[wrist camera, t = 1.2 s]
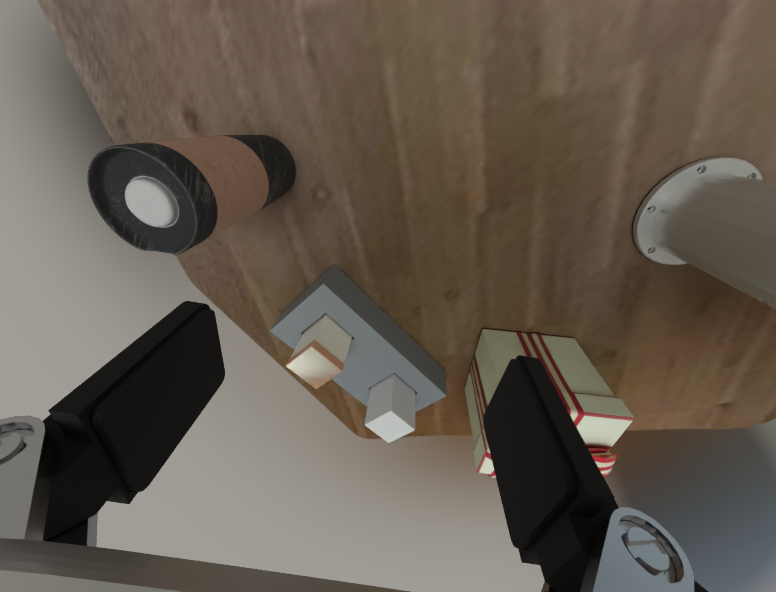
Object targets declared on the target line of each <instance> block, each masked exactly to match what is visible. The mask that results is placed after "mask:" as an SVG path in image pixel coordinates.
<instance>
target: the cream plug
mask: <svg viewBox="0 0 776 592" xmlns="http://www.w3.org/2000/svg"><path fill="white" fill-rule="evenodd" d="M351 339H352V335H351V334H349V333H348V332H347V331H346V330H345V329H344V328H343V327H341V326H340V325H339V324H338V323H337V322H336V321H335V320H333V319H332V318H331V317H330V316H329V315H328V314H326V313H325V314H324V315H322V316H321V317H320V318H319V319H318V320H316V321H315V322H314V323H313V324H311V325H310V326H309V327H308V328H307V329H306V330H305V332H304V333H303V335H302V337H301V339H300V341H299V343H298V345H297V347H296V348H295V350H294V352H293V354H292V356H291V358H290V359H289V360H288V362H287V364H286V367H287V368H289V369H290V370H291V371H293V372H294V373H295V374H297V375H298V376H299V377H301V378H302V379H303V380H305V381H306V382H307V383H309V384H310V385H311V386H313V387H314V388H315V389H317V388H318V387H320V386H321V385H323V384H324V383H326V382H327V381H329V380H330V379H332V378H333V377H335V376H336V375H338V374H339V373H341V372H342V371H343V368H344V365H345V364H344V363H345V359H346V356H347V353H348V349H349V346H350V343H351Z"/></svg>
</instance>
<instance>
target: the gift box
mask: <svg viewBox="0 0 776 592" xmlns="http://www.w3.org/2000/svg"><path fill="white" fill-rule="evenodd" d="M518 355H522V356H528V357H534V358H538V359H540V361H541V362H542V364H543V366H544V368H545V370H546V372H547V373H548V375H549V377H550V379H551V381H552V383H553V385H554V386H555V388H556V390H557V392H558V394H559V396H560V398H561V399H562V401H563V403H564V405H565V407H566V409H567V411H568V412H569V414H570V416H571V418H572V420H573V422H574V423H575V425H576V427H577V429H578V431H579V433H580V435H581V436H582V438H583V440H584V442H585V444H586V446H587V448H588V449H589V451H590V453H591V455H592V457H593V459H594V461H595V462H596V464H597V466H598V468H599V470H600V472H601V474H602V475H603V477H604V476H607V475H609V473H610V471H611V469H612V466H613V464H614V462H615V460H616V458H617V454H615V453H608V451H609V450H610V449H611V448H612V446H613V445H614V443H615V442H616V441H617V440H618V438H619V437H620V436H621V435H622V433H623V432H624V431H625V429H626V428H627V427H628V426H629V425H630V424H631V422H632V421H633V420H634V417H633V415H632V414H631V412H630V411H629V410H628V408H627V407H626V405H625V404H624V403H623V401H622V400H621V398H619V397H615V396H614V395H613V393H612V392H611V390H610V389H609V387H608V386H607V385H606V383H605V382H604V380H603V379H602V378H601V376H600V375H599V373H598V372H597V370H596V369H595V368H594V366H593V365H592V363H591V362H590V360H589V359H588V357H587V356H586V355H585V353H584V352H583V350H582V349H581V347H580V346H579V345H578V343H577V341H576V340H575V339H574V338H568V337H558V336H548V335H541V334H540V333H533V334H529V333H521V332H510V331H501V330H491V329H483V330H482V333H481V336H480V339H479V342H478V346H477V349H476V352H475V355H474V358H473V361H472V364H471V368H470V372H469V376H468V379H467V382H466V386H465V395H466V401H467V406H468V412H469V418H470V423H471V429H472V435H473V441H474V446H475V448H474V451H473V455H474V460H475V466H476V470H477V472H478V473H483V474H489V475H488V476H490V477H492V478H496V475H495V471H494V467H493V462H492V458H491V454H490V450H489V446H488V441H487V437H486V433H485V429H484V424H483V417H484V413H485V411H486V409H487V407H488V405H489V403H490V400H491V398H492V396H493V394H494V392H495V390H496V388H497V386H498V384H499V382H500V380H501V378H502V376H503V374H504V372H505V370H506V368H507V366H508V363H509V362H510V360H511V359H515V358H516V357H517V356H518Z"/></svg>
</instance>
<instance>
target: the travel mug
mask: <svg viewBox="0 0 776 592" xmlns="http://www.w3.org/2000/svg"><path fill="white" fill-rule="evenodd" d="M295 172H296V171H295V164H294V161H293V158H292V156H291V154H290V152H289V151H288V150H287V148H286V147H285V146H284V145H283V144H282V143H281V142H279V141H278V140H276V139H274V138H272V137H269V136H265V135H222V136H209V137H199V138H188V139H178V140H167V141H157V142H146V143H136V144H125V145H116V146H112V147H108V148H106V149H104V150H102V151H100V152H99V153H98V154H97V155H96V156H95V157H94V158H93V160H92V161H91V163H90V166H89V169H88V188H89V192H90V195H91V198H92V201H93V203H94V205H95V207H96V209H97V210H98V212H99V214H100V215H101V217H102V218H103V220H104V221H105V222H106V223H107V225H108V226H109V227H110V228H111V229H112V230H113V231H114V232H115V233H116V234H117V235H119V236H120V237H121V238H122V239H124V240H125V241H126V242H128V243H129V244H131V245H132V246H134V247H136V248H138V249H140V250H144V251H159V252H165V253H171V254H173V255H178V254H180V253H183V252H185V251H186V250H188V249H190V248H192V247H193V246H195V245H197V244H199V243H201V242H203V241H204V240H206V239H208V238H210V237H212V236H214V235H215V234H217V233H219V232H221V231H223V230H225V229H227V228H228V227H230V226H232V225H234V224H236V223H238V222H239V221H241V220H243V219H245V218H247V217H249V216H250V215H252V214H254V213H256V212H257V211H259V210H261V209H262V208H264V207H265V206H267V205H268V204H270V203H271V202H273V201H274V200H276V199H277V198H279V197H280V196H282V195H283V194H285V193H286V192H287V191H288V190H289V189H290V188H291V187H292V185H293V183H294V180H295Z"/></svg>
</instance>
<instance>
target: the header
mask: <svg viewBox="0 0 776 592" xmlns="http://www.w3.org/2000/svg"><path fill="white" fill-rule="evenodd" d="M325 313H326V314H328V315H329V316H330V317H331V318H332V319H333V320H335V321H336V322H337V323H338V324H339V325H340V326H341V327H343V328H344V329H345V330H346V331H347V332H348V333H349V334H351V335H352V339H351V343H350V346H349V349H348V353H347V356H346V359H345V363H344V364H345V365H344V368H343V371H342V372H341V373H339V374H338V375H336V376H335V377H333V378H332V380H333V381H335V382H336V383H337V384H338V385H340V386H341V387H342V388H344V389H345V390H346V391H347V392H349V393H350V394H351V395H353V396H354V397H355V398H356V399H358V400H359V401H360V402H362V403H363V404H364V405H365V406H367V407H368V408H367V413H366V419H365V426H367V427H368V428H369V429H371V430H372V431H373V432H375V433H376V434H377V435H379V436H380V437H381V438H383V439H384V440H385V441H387V442H388V443H390V442H392V441H394V440H396V439H398V438H400V437H402V436H404V435H406V434H408V433H410V432H412V431H414V430H415V412H417V411H419V410H421V409H423V408H424V407H426V406H428V405H430V404H432V403H434V402H436V401H438V400H440V399H442V398H444V397H446V396H447V392H446V383H445V374H444V368H443V367H442V366H441V365H440V364H439V363H438V362H436V361H435V360H434V359H433V358H432V357H431V356H430V355H429V354H428V353H427V352H426V351H425V350H424V349H423V348H422V347H421V346H420V345H419V344H418V343H417V342H415V341H414V340H413V339H412V338H411V337H410V336H409V335H408V334H407V333H406V332H405V331H404V330H403V329H402V328H401V327H400V326H399V325H398V324H397V323H396V322H394V321H393V320H392V319H391V318H390V317H389V316H388V315H387V314H386V313H385V312H384V311H383V310H382V309H381V308H380V307H379V306H378V305H377V304H376V303H375V302H373V301H372V300H371V299H370V298H369V297H368V296H367V295H366V294H365V293H364V292H363V291H362V290H361V289H360V288H359V287H358V286H357V285H356V284H355V283H354V282H352V281H351V280H350V279H349V278H348V277H347V276H346V275H345V274H344V273H343V272H342V271H341V270H340V269H339V268H338V267H337V266H336V265H335V264H334V265H333V266H332V267H331V268H330V269H329V270H328V271H327V272H326V273H324V274H323V275H322V276H321V277H320V278H319V279H318V280H317V281H315V282H314V283H313V284H312V285H311V286H310V287H309V288H308V289H307V290H305V291H304V292H303V293H302V294H301V295H300V296H299V297H298V298H297V299H295V300H294V301H293V302H292V303H291V304H290V305H289V306H288V307H287V308H285V310H284V311H283V313H282V314H281V316H280V317H279V318H278V320H277V321H276V323H275V324H274V326H273V327H272V328H271V330H270V331H271V332H272V333H273V334H274V335H276V336H277V337H278V338H280V339H281V340H282V341H283V342H285V343H286V344H287V345H289V346H290V347H291V348H292V349H294V350H295V348H296V347H297V345H298V343H299V341H300V339H301V337H302V335H303V333H304V332H305V330H306V329H307V328H308V327H309V326H310V325H311V324H313V323H314V322H315V321H316V320H318V319H319V318H320V317H321V316H322V315H324V314H325Z"/></svg>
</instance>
